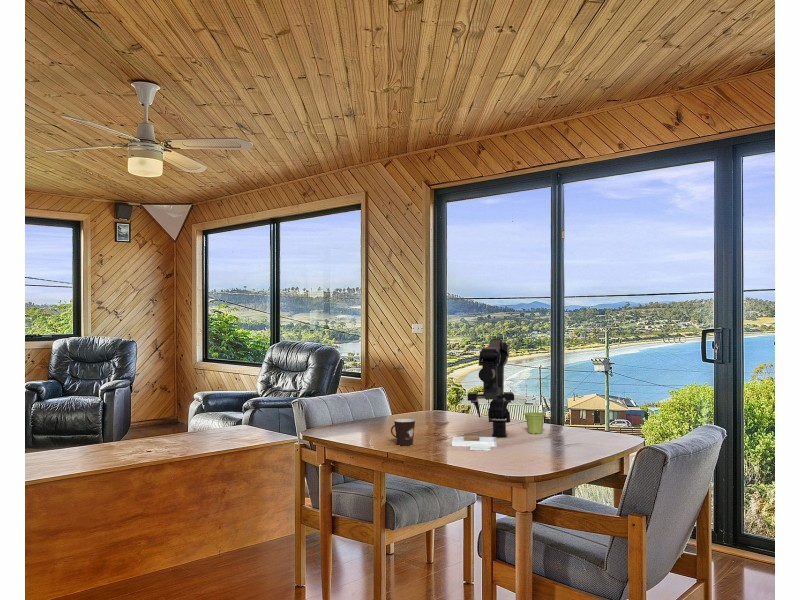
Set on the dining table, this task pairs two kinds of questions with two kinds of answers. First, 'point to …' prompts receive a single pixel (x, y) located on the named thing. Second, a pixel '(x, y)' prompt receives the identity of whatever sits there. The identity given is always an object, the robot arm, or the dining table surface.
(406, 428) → the coffee mug
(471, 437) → the block
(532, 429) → the plant pot
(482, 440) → the channel
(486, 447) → the coaster
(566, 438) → the dining table surface
